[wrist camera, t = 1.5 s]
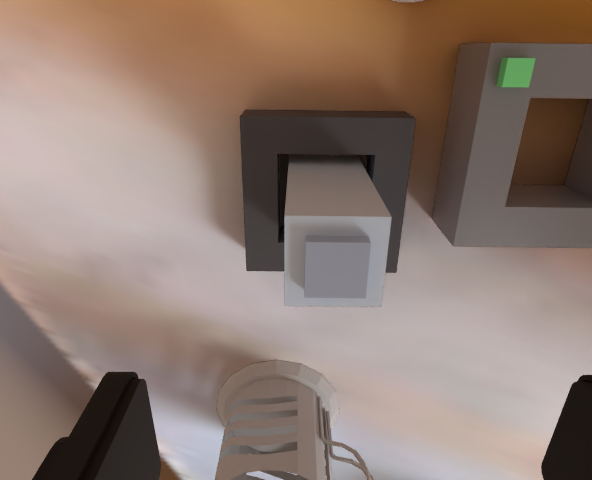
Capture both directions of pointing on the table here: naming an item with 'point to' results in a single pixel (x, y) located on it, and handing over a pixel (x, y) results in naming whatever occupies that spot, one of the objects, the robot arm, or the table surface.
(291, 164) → the plug
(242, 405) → the french press
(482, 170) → the port panel
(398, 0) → the milk bottle
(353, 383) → the table surface
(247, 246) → the dark grey square frame
